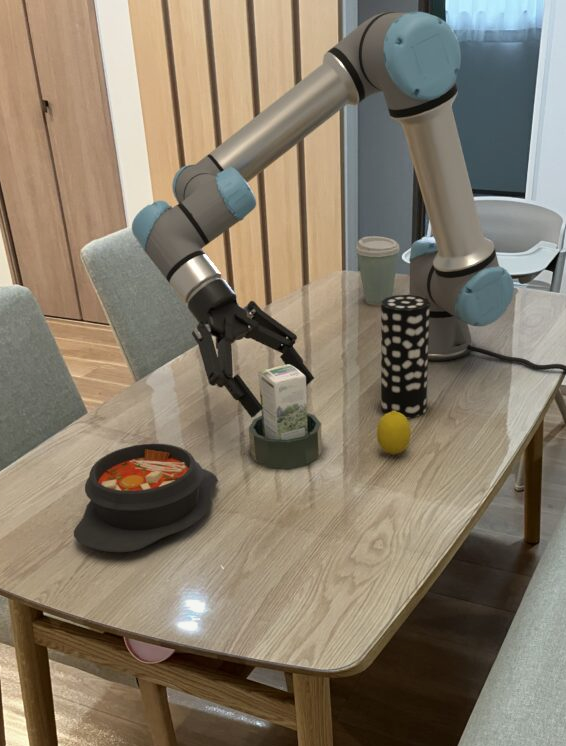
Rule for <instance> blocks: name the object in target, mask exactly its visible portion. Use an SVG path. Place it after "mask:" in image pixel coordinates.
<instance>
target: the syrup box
mask: <svg viewBox="0 0 566 746" xmlns="http://www.w3.org/2000/svg"><path fill="white" fill-rule="evenodd" d="M258 385H259V386H258V387H259V398H260V404H261V405H262V407H263V409H262V410H261V411H260V412H261V416H262V427H263V436H264V437H266V438H269V439H283V440H288V439H293V438H298V437H303V436H304V435H306V434H308V427H307V413H308V407H307V406H308V404H307V403H308V402H307V398H308V397H307V386H306V376H305V375H304V374H303V373H302V372H300V371H299V370H298V369H297V368H295V367H294V366H292V365H290V364H287V365H286V364H283V365H279V366H275V367H271V368H268V369H262V370H259V371H258Z"/></svg>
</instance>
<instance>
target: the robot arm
mask: <svg viewBox="0 0 566 746" xmlns="http://www.w3.org/2000/svg"><path fill="white" fill-rule="evenodd" d="M460 46H461V45H460V43H459V39H458V38H457V35H456V33H455V32H454V30H453V28H452V27H451V26H450V25H449V24H448V23H447V22H446V21H445V20H443V19H442V18H441V17H438V16H436V15H433V14H430V13H428V12H424V11H411V12H394V11H389V12H387V11H386V12H381V13H378V14H376V15H373V16H371V17H370V18H369V19H367V20H365V21H364V22H362V23H361V24H360V25H358V26H357V27H355V28H354V29H353V30H352V31H351V32H350V33H349V34H347V35H346V36H344V37H343V38H342V39H340V41H339V42H337V43H336V44H335V45H334V46H333V47H331V48H330V49H328V51H326V52H325V53H324V54H323V58H322V59H323V60H322V63H321V64H320V65H319V66H318V67H316V68H315V69H314V70H313V71H312V72H311V73H309V74H308V75H306V76H305V77H304V78H303V79H301V80H300V81H299V82H297V83H296V84H295V85H294V86H293V87H291V88H290V89H289V90H288V91H286V92H285V93H284V94H282V95H281V96H280V97H279V98H278V99H276V100H275V101H273V102H272V103H271V104H270V105H269V106H267V107H266V108H264V110H263V111H261V112H260V113H258V114H257V115H256V116H254V118H252V119H251V120H250V121H249V122H247V123H246V124H245V125H244V126H242V127H241V128H239V130H237V131H235V133H233V134H232V135H230V137H228V138H227V139H226V140H225V141H223V142H222V143H221V144H219V145H218V146H217V147H216V148H215V149H213V150H212V151H211V152H209V153H208V154H207V155H206V156H204V157H203V158H202V159H201V160H199V161H198V162H196V163H194V164H188V165H184V166H182V167H180V168H179V169H178V170H177V171H176V173H175V174H174V176H173V178H172V179H173V180H172V184H171V185H172V194H173V196H174V198H175V200H176V201H177V203H178V204H176V205H174V206H171V205H170V204H168V202H166V201H165V200H156V201H154V202H153V203H151V204H148V205H146V206H144V207H143V208H141V210H139V212H138V213H137V214H136V215H135V217H134V218H133V220H132V223H131V232H132V234H133V236H134V237H135V239H136V240H137V242H138V243H139V245H140V246H141V248H142V249H143V251H144V253H145V254H146V255H147V256H148V258H149V259H150V260H151V261H152V263H153V265H155V267H156V268H157V269H158V270H159V272H160V273H161V275H162V276H163V277H164V279H166V281H167V282H168V284H169V285H170V286H171V287H172V289H173V290H174V291H175V293H176V295H178V297H179V298H180V300H181V301H182V303H184V304H187V309H188V310H189V312H190V313H191V314H192V316H193V317H194V318H195V320H196V321H197V323H198V324H197V325H196V327H195V328H194V329H193V331H192V332H191V335H192V337H193V339H194V340H195V341H196V343H197V345H198V349H199V352H200V356H201V360H202V363H203V367H204V370H205V373H206V378H207V382H208V384H209V385H210V386H212V387H214V386H217V388H219V389H222V388H223V387H225V389H226V391H227V392H228V393H229V394H230V395H231V397H232V398H233V399H234V400H235V401H238V402H239V403H240V405H242V407H243V408H244V410H245V411H246V412H247V414H248V415H249V416H250V418H251V419H252V418H254V417H256V416H257V415H258V414H259V413H260V412H261V410H262V409H263V407H262V405H261V402H260V401H259V400H258V398H257V397H256V395H254V394H253V391H251V389H250V388H249V386H248V385H247V384H246V383H245V381H244V380H243V378H241V376H240V375H239V374H235V375H234V368H233V348H232V346H233V344H234V343H235V342H236V341H240V340H243V339H246V340H247V339H248V340H249V339H251V340H253V341H255V342H257V343H260V344H262V345H264V346H265V347H268V348H270V349H272V350H274V351H276V352H278V353H281V355H280V356H279V358H280V359H281V360H282V362H283V363H284V365H287V364H290V365H292V366H294V367H295V368H297V369H298V370H299V371H300V372H302V373H303V374H304V375H305V376H306V387H307V386H308V385H309V384H310V383H311V382H312V381H313V380H315V376H314V375H313V374H312V373H311V371H310V370H309V369H308V367H307V366H306V365H305V363H304V359H303V358H302V356H301V355H300V354H299V352H298V351H297V350H296V349H295V347H294V345H295V344H296V340H298V336H297V335H296V334H295V333H294V332H293V331H291V330H290V329H288V328H287V327H286V326H284V325H283V324H282V323H280V322H279V321H277V320H276V319H275V318H273V317H272V316H270V315H269V314H267V313H266V312H265V311H263V310H262V309H261V308H260V306H259V305H258V304H257V303H256V302H255V301H254V300H250V301H249V302H248V303H247V304H246V305H245V306H244V307H242V306H241V305H240V304H239V303H238V300H237V294H236V292H234V290H233V289H232V287H231V286H230V284H228V282H227V280H226V279H223V278H222V274H221V272H220V271H219V270H218V268H217V267H216V266H215V264H214V263H213V261H211V259H210V258H209V257H208V255H207V254H206V253H205V251H204V250H203V248H205V246H206V247H207V245H209V244H210V243H211V242H212V241H214V240H215V239H217V238H218V237H220V236H221V235H222V234H223V233H225V232H226V231H228V230H229V229H231V228H232V227H234V226H235V225H236V224H237V223H239V222H240V221H242V220H244V219H245V217H246V216H247V215H249V214H250V213H251V212H252V211H254V210H255V208H256V206H257V199H256V196H255V194H254V192H253V190H252V189H251V187H250V185H249V184H248V183H249V182H251V180H253V179H254V178H256V176H258V175H259V174H261V172H263V171H264V170H266V169H267V168H268V167H270V166H271V165H272V164H273V163H274V162H276V161H277V160H278V159H279V158H281V157H282V156H283V155H285V154H286V153H287V152H288V151H290V150H292V149H293V148H294V147H295V146H297V144H299V143H300V142H302V141H303V140H304V139H306V137H308V136H309V135H310V134H311V133H313V132H314V131H315V130H317V129H318V128H319V127H321V126H322V125H323V124H324V123H325V122H327V121H328V120H330V119H331V118H332V117H333V116H334V115H336V114H337V113H339V112H340V110H343V108H345V107H346V106H347V105H350V106H357V105H358V104H360V103H362V102H363V100H365V99H366V98H368V97H370V96H372V95H375V94H377V93H380V92H382V93H383V96H384V100H385V104H386V107H387V111H388V113H389V117H390V119H392V120H394V121H395V122H398V123H400V124H401V126H402V130H403V132H404V136H405V139H406V144H407V147H408V151H409V154H410V158H411V161H412V164H413V168H414V171H415V176H416V178H417V182H418V185H419V189H420V192H421V196H422V200H423V203H424V207H425V211H426V213H427V218H428V220H429V224H430V228H431V232H432V235H433V236H432V237H431V236H430V237H426V238H420V239H418V240H416V241H414V242H413V243H412V244H411V247H410V254H409V260H408V261H409V295H415V296H421V297H424V298H426V299H428V300H429V301H430V313H429V343H428V361H430V362H431V361H432V362H433V361H434V362H437V361H439V362H440V361H441V362H442V361H450V360H456V359H459V358H462V357H464V356H467V355H468V354H469V353H470V352H471V351H472V352H475V353H478V354H481V355H486V356H488V357H492V358H495V359H498V360H500V361H505V362H511V363H517V364H518V363H519V364H523V365H525V366H527V367H528V368H531V369H534V370H538V371H547V370H562V371H564V372H565V373H566V365H565V364H561V363H550V364H537V363H534V362H533V361H530V360H528V359H525V358H522V357H517V356H516V357H515V356H509V355H504V354H500V353H497V352H494V351H491V350H489V349H485V348H481V347H477V346H475V345H472V344H473V341H472V335H471V330H470V327H469V325H470V326H472V327H486V326H489V325H491V324H493V323H494V322H496V321H497V320H499V319H500V318H501V317H502V316H504V315H505V313H506V312H507V310H508V307H509V305H510V304H511V303H512V301H513V298H514V293H515V283H514V280H513V277H512V275H511V273H509V272H508V270H507V269H505V267H502V266H500V264H499V260H498V259H499V258H498V255H497V252H496V247H495V244H494V242H493V240H492V239H488V238H486V237H485V236H484V235H483V231H482V226H481V221H480V218H479V214H478V210H477V206H476V201H475V197H474V193H473V190H472V185H471V181H470V176H469V172H468V169H467V164H466V160H465V157H464V152H463V148H462V144H461V140H460V139H461V138H460V136H459V131H458V127H457V123H456V119H455V116H454V111H453V103H454V102H455V100H456V98H457V96H458V93H459V92H458V91H459V90H458V87H457V82H456V80H457V78H458V72H459V71H460V70H461V64H462V63H461V62H462V51H461V47H460ZM213 336H214V337H215V343H214V339H213Z"/></svg>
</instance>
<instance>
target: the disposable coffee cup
mask: <svg viewBox="0 0 566 746" xmlns="http://www.w3.org/2000/svg"><path fill="white" fill-rule="evenodd" d="M355 252H356V255H357V260H358V267H359V272H360V279H361V285H362V291H363V296H364V300H365V302H366V303H367V304H368V305H370V306H380V307H381V302H382V300H383V299H385V298H388V297H391V296H394V295H393V294H394V287H395V280H396V273H397V266H398V259H399V252H400V244H399V243H398V242H397V241H396V240H394V238H393V239H392V238H388V237H386V236H376V235H373V236H363V237H362V238H360V239H358V241H357V245H356V247H355Z"/></svg>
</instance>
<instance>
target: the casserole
mask: <svg viewBox="0 0 566 746" xmlns="http://www.w3.org/2000/svg"><path fill="white" fill-rule="evenodd" d="M191 453H192V452H189V451H188V450H187V449H185V448H183V447H180V446H177V445H173V444H169V443H168V444H167V443H142V444H134V445H130V446H127V447H123V448H120V449H116V450H114V451H112V452H110V453H108V454H105V455H104V456H103V457H101V458H99V459H98V460H97V461H95V462H94V464H93V465H92V467H91V468H90V471H89V473H88V474H89V475H88V478H87V479H86V481H85V484H84V493H85V494H86V497H87V498H88V499H89V502H88V503H87V505H86V507H85V510H84V513H83V516H82V518H81V519H80V521H79V523H77V525H76V527H75V528H74V530H73V537H74V539H76V540H77V542H78V543H80V544H82V545H84V546H85V547H87V548H90V549H93V550H96V551H103V552H108V553H109V552H110V553H128V552H129V553H130V552H135V551H138V550H141V549H144V548H146V547H148V546H150V545H152V544H153V543H155V542H157V541H159V540H161V539H162V538H165V537H168V536H171V535H173V534H176V533H178V532H181V531H184V530H185V529H187V528H189V527H191V526H193V525H195V524H196V523H197V522H199V521H200V520H201V519H203V518H204V517H205V515H206V514H207V513H208V512H209V511H210V508H211V506H212V502H213V495H214V491H215V488H216V486H217V484H218V482H219V480H218V477H217V475H216V474H214V473H213V472H211V471H209V470H208V469H205V468H203V467H202V466H201V465H200V463H199V462H197V460H195V458H194V456H193V455H192V454H191Z"/></svg>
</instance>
